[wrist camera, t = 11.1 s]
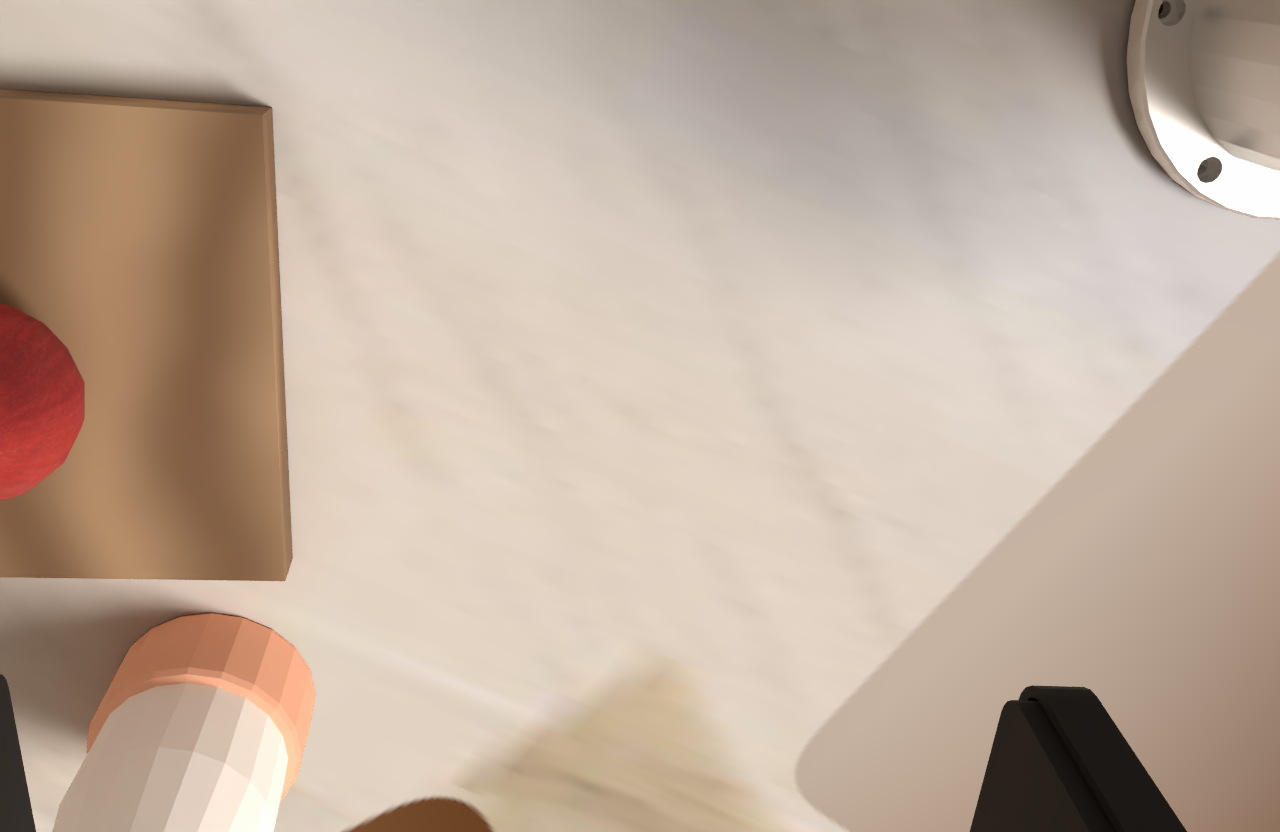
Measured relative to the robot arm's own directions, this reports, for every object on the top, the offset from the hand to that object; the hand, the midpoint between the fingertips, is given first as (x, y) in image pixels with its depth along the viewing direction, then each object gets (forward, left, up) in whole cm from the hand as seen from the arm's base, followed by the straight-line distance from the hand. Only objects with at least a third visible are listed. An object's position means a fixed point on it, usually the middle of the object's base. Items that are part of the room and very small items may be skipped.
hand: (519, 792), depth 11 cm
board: (+17, +6, -28) cm, 33 cm away
